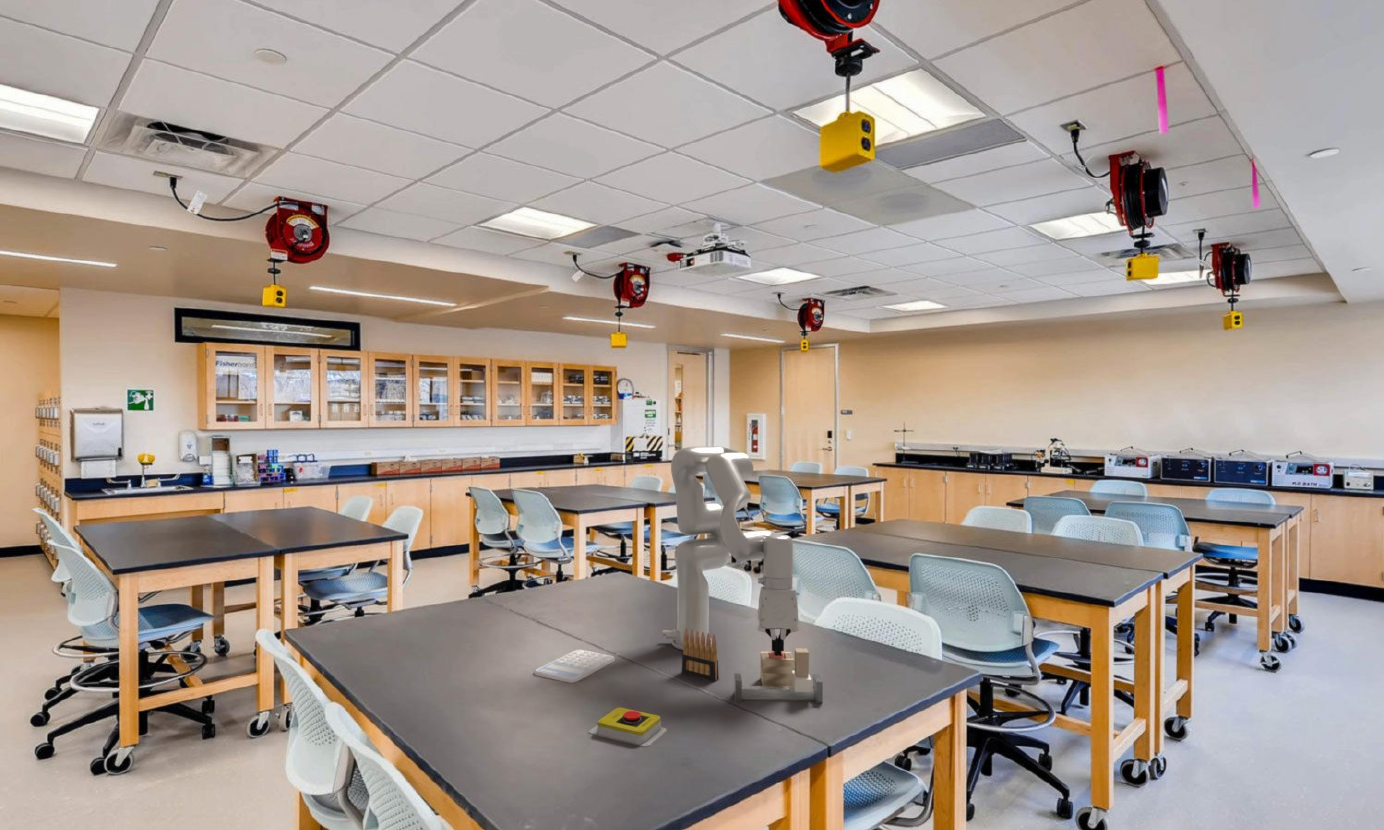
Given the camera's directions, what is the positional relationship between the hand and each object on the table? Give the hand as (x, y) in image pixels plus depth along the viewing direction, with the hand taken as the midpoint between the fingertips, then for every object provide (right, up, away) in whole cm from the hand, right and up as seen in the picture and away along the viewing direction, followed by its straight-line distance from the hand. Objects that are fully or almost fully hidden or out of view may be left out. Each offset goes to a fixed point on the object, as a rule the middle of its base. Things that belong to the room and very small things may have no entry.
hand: (777, 653), depth 178 cm
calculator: (-54, -8, +10) cm, 56 cm away
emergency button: (-36, -8, -29) cm, 47 cm away
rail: (-1, -7, -10) cm, 12 cm away
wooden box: (0, -8, 0) cm, 8 cm away
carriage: (+5, -5, -10) cm, 12 cm away
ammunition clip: (-20, -8, +4) cm, 22 cm away
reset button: (0, -4, 0) cm, 4 cm away
